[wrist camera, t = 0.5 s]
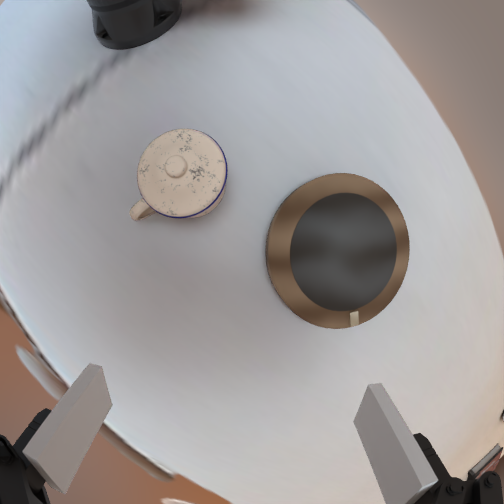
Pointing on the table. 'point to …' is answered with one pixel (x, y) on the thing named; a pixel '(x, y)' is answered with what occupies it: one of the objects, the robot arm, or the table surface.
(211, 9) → the table surface
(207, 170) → the teacup with lid
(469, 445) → the table surface
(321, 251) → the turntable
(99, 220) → the table surface
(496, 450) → the book
